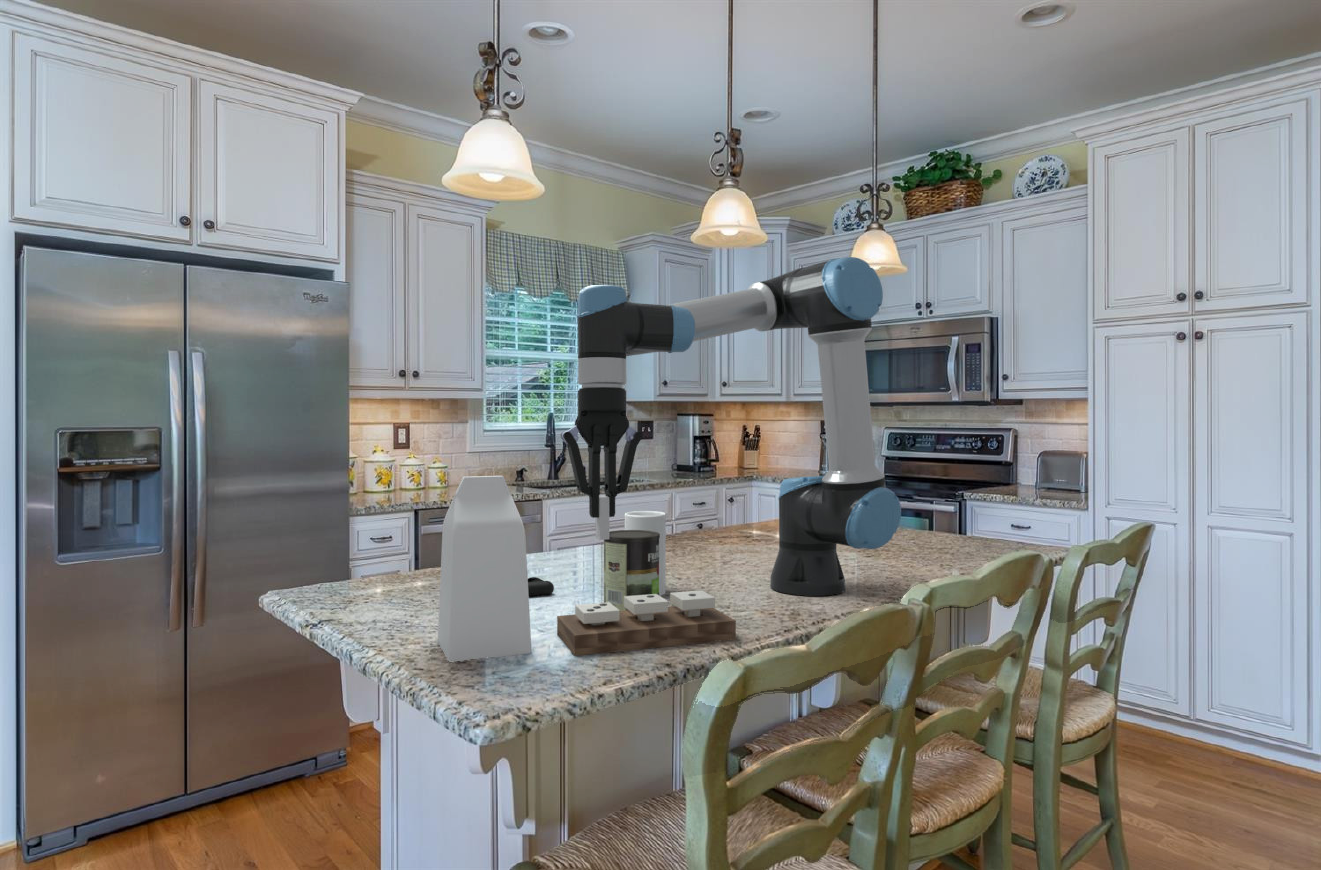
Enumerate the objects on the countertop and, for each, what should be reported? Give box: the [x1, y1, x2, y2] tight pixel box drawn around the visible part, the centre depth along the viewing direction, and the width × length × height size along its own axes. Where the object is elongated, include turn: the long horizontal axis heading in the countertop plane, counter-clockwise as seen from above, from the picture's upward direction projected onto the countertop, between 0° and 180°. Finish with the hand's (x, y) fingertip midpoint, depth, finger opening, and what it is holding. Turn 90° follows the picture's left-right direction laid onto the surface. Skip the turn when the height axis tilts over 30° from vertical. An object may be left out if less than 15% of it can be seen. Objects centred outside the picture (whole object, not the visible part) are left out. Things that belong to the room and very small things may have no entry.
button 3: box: [574, 602, 619, 626], centre depth 120 cm, size 6×6×4 cm
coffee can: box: [603, 529, 660, 611], centre depth 140 cm, size 10×10×14 cm
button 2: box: [624, 594, 669, 621], centre depth 123 cm, size 6×6×4 cm
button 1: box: [669, 589, 716, 617], centre depth 126 cm, size 6×6×4 cm
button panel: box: [556, 605, 737, 657], centre depth 123 cm, size 26×12×3 cm, turn 110°
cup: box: [624, 510, 667, 597], centre depth 155 cm, size 8×8×16 cm
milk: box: [437, 475, 533, 663], centre depth 117 cm, size 12×12×26 cm
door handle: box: [528, 576, 555, 598], centre depth 155 cm, size 3×20×16 cm
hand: (602, 538), depth 121 cm, fingers closed
